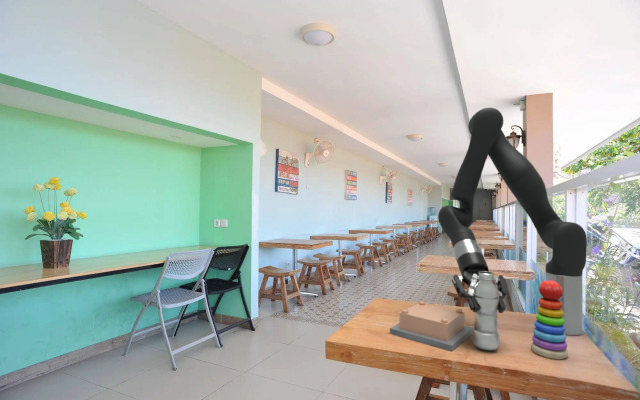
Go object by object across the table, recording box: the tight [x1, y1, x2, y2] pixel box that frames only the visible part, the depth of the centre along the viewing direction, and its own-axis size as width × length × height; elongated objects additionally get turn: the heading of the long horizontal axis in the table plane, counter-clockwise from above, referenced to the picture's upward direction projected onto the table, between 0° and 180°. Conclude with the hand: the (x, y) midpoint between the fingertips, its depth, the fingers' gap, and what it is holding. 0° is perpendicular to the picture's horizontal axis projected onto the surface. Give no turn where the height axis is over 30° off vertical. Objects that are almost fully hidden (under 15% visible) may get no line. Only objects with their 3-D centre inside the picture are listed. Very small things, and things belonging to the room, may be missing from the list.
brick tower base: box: [389, 300, 474, 352], centre depth 100 cm, size 18×18×7 cm
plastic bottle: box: [471, 271, 500, 351], centre depth 90 cm, size 6×7×20 cm
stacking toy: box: [530, 280, 569, 360], centre depth 87 cm, size 8×8×19 cm
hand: (489, 311), depth 88 cm, fingers closed on plastic bottle, 6 cm apart
